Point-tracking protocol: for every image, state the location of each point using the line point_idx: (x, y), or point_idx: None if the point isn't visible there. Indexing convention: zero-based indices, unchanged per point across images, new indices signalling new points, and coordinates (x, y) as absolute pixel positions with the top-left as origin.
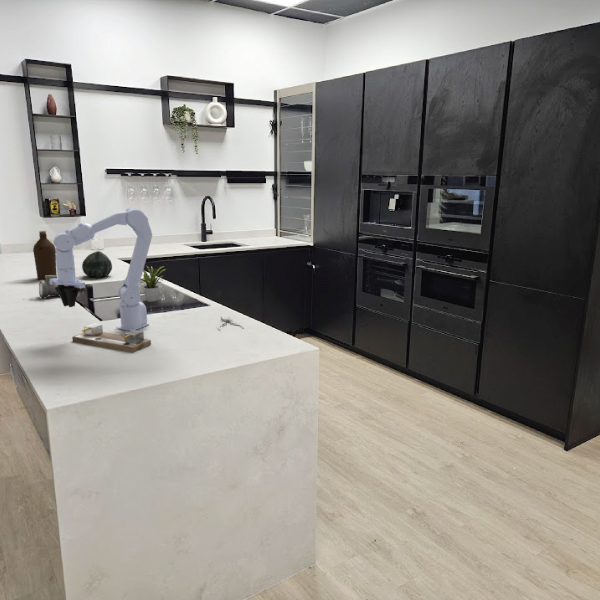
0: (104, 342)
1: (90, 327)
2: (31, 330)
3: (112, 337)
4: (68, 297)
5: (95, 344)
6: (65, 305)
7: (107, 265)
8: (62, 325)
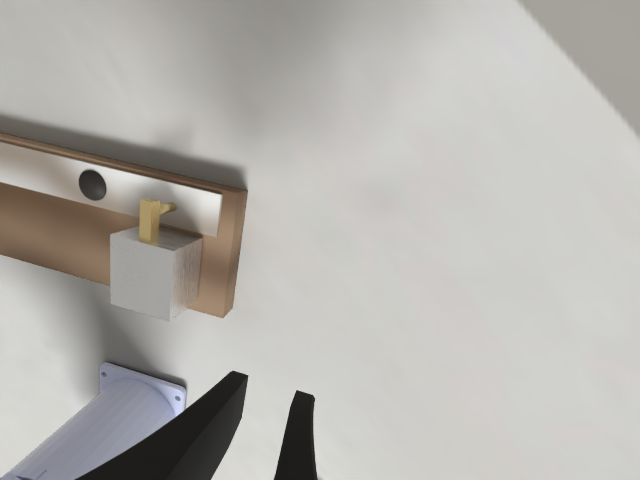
0: (41, 149)
1: (124, 239)
2: (587, 313)
3: (64, 229)
4: (153, 449)
5: (108, 158)
6: (293, 400)
7: None
8: (454, 408)
